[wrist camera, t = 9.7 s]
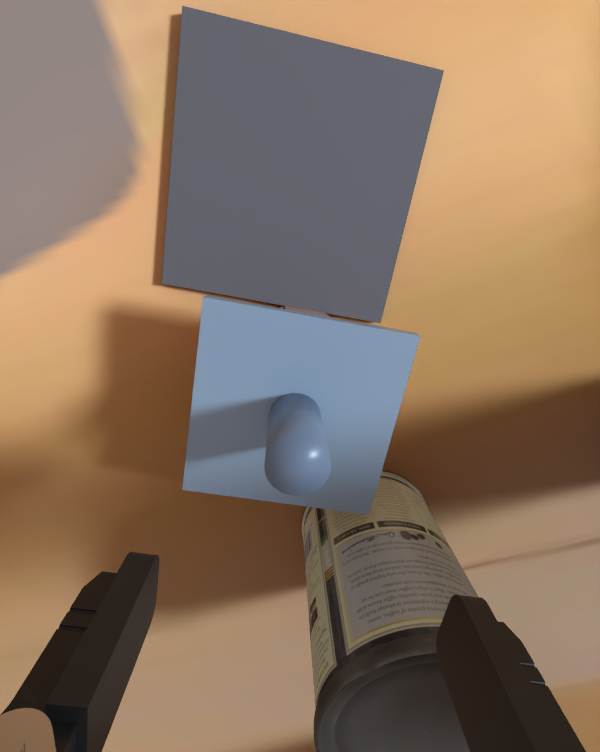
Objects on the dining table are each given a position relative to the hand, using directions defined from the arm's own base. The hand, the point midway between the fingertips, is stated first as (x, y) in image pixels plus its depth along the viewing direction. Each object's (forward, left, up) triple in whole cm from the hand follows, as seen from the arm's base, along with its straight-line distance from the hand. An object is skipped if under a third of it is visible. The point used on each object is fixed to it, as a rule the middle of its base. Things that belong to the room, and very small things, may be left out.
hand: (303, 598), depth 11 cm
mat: (+2, -12, -17) cm, 21 cm away
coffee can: (-8, +11, -18) cm, 22 cm away
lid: (0, 0, -12) cm, 12 cm away
